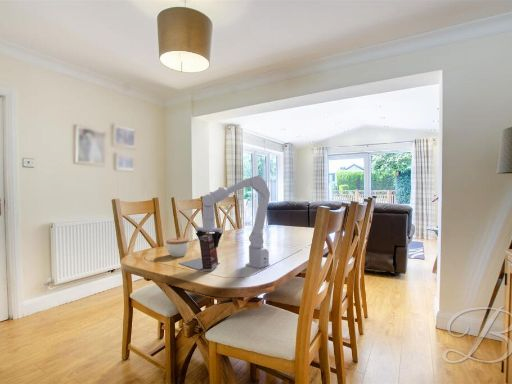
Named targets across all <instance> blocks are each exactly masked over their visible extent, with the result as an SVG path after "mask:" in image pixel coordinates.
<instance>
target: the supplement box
mask: <svg viewBox="0 0 512 384" xmlns="http://www.w3.org/2000/svg"><path fill="white" fill-rule="evenodd" d="M213 233H214V232H208V233H206V234H205V235H203V236H202V237H199V238H198V242H199V248H200V254H201V255H200V256H201V257H200V258H201V259H202V265H203V269H202V271H203V272H211V271H213V270H214V269H215V268H217V266H219V264H218V263H219V259H218V251H217V248H214V238H213V235H212V234H213Z"/></svg>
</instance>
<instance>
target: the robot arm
mask: <svg viewBox="0 0 512 384" xmlns="http://www.w3.org/2000/svg"><path fill="white" fill-rule="evenodd" d="M267 185H268V184H267V182H266V180H265V179H264V178H263V177H262V176H261V175H255V176H253V177H249V178H246V179H243V180H241V181H238V182H237V183H235V184H233V185H231V186H229V187H226V186H223V187H221V186H220V187H218V189H216V190H214V191H209V194H208V193H207V194H205V195H204V196H203V197H202V200H201V201H202V226H199V227H197V226H196V227H195V232H196V233H195V235H196V236H197V238H198V239H199V237H202V236H203V235H205V234H207V233H213V234H212V235H213V238H214V248H216V249H217V248H218V247H219V243H220V239H221V237H222V236H223V233H224V228H221V227H216V220H215V219H216V216H215V215H216V214H215V212H216V211H215V205H214V204H215V203H216V204H217V203H220V202H222V201H224V200H225V199H228V198H229V197H230V195H231V194H232V193H234V192H237V191H239V190H241V189H244V188H252V189H253V190H254V191H256V193H257V194H258V195H259V198H258V202H257V203H258V204H257V209H256V215H255V219H254V224H253V227H252V231H251V232H250V235H249V237H248V239H249V242H250V244H249V245H248V262H247V263H245V266H249V267H252V268H257V269H262V268H264V267H267V266H270V261H269V257H270V255H269V250H268V249H267V248H265V247H264V237H263V235H264V227H265V221H266V216H267V211H268V205H269V201H270V197H271V193H270V190H269V187H268V186H267Z"/></svg>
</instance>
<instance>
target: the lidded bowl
mask: <svg viewBox="0 0 512 384" xmlns="http://www.w3.org/2000/svg"><path fill="white" fill-rule="evenodd" d="M189 246H190V238H187V237H179V236H176V237H174V238H169V239H166V249H167V252H168V254H169V255H170V256H171V257H173V258H180V257H184V256H185V255H186V254H187V253H188V251H189Z"/></svg>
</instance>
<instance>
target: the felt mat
mask: <svg viewBox="0 0 512 384" xmlns="http://www.w3.org/2000/svg"><path fill="white" fill-rule="evenodd" d="M178 265H181V266H184V267H187V268H190V269H193V270H196V271H200V270H203V265H202V257H198V258H194V259H191V260H186V261H182V262H178ZM218 265H220V262H218Z"/></svg>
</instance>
